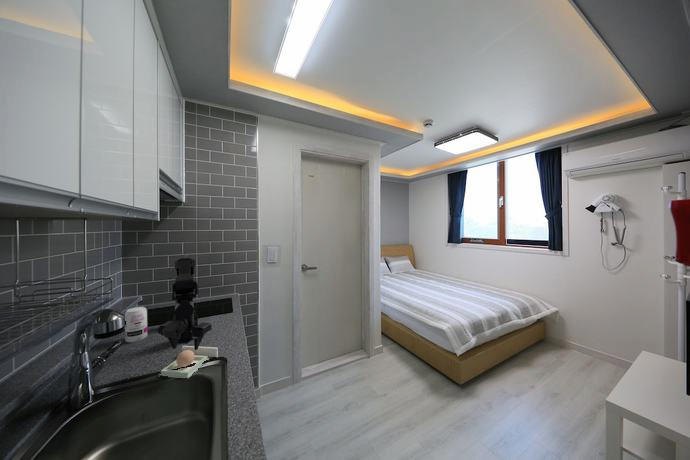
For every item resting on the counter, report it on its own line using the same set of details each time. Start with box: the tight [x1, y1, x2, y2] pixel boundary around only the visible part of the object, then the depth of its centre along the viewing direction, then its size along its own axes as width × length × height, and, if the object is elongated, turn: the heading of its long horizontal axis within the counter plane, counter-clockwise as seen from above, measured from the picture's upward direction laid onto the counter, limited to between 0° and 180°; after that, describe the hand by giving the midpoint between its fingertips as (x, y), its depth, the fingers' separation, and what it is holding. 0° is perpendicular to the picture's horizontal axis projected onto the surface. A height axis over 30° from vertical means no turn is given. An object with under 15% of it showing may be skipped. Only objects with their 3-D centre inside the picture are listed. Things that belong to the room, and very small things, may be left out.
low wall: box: [181, 345, 219, 358], centre depth 101 cm, size 16×1×4 cm, turn 85°
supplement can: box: [124, 306, 148, 343], centre depth 115 cm, size 8×8×15 cm
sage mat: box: [158, 355, 211, 379], centre depth 93 cm, size 12×12×2 cm
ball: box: [175, 350, 194, 367], centre depth 93 cm, size 6×6×6 cm
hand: (185, 349), depth 92 cm, fingers open, 9 cm apart
